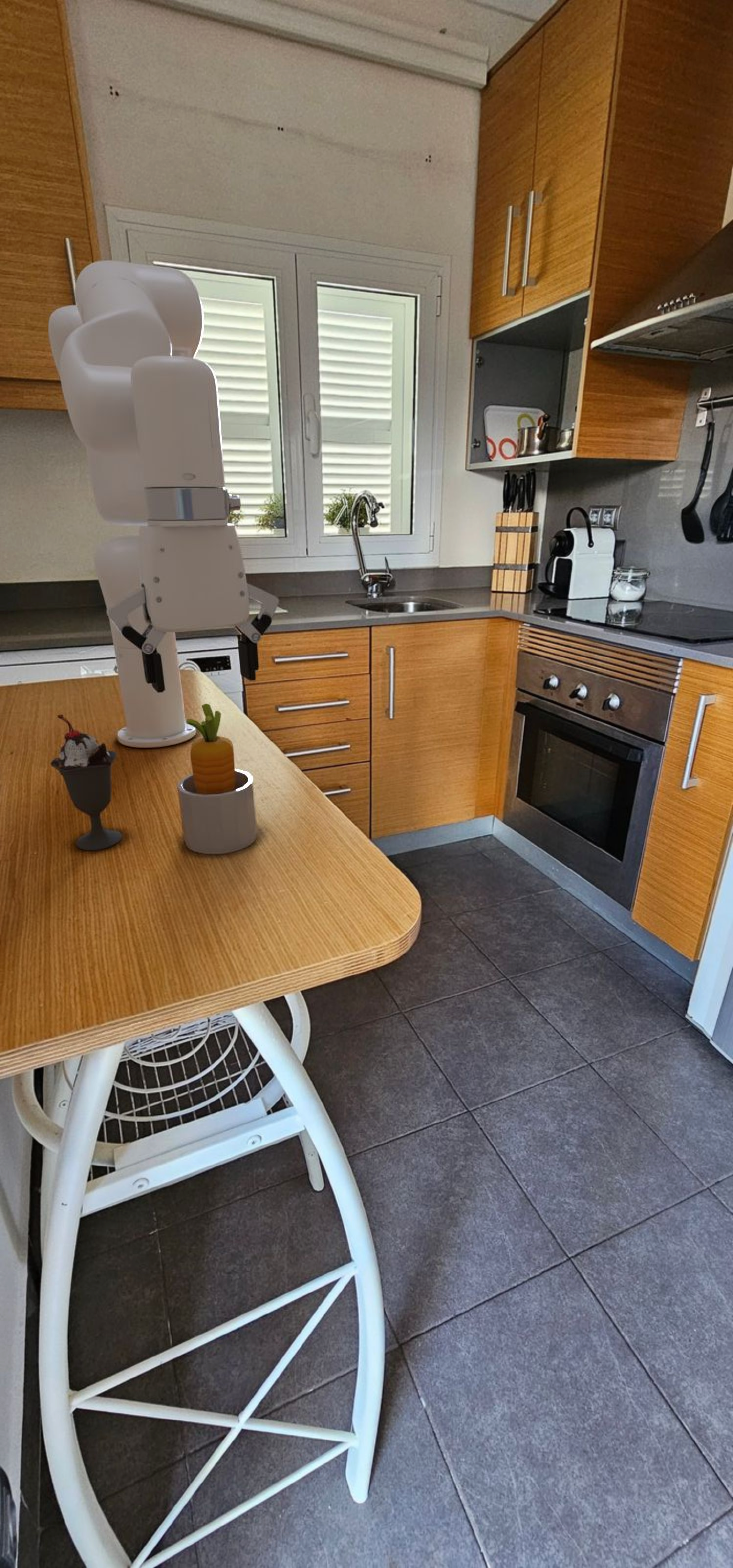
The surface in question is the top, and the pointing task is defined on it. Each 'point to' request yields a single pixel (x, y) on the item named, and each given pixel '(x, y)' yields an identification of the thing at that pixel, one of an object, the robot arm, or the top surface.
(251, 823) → the gray cup
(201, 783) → the carrot
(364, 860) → the top surface
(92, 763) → the sundae
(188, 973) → the top surface
